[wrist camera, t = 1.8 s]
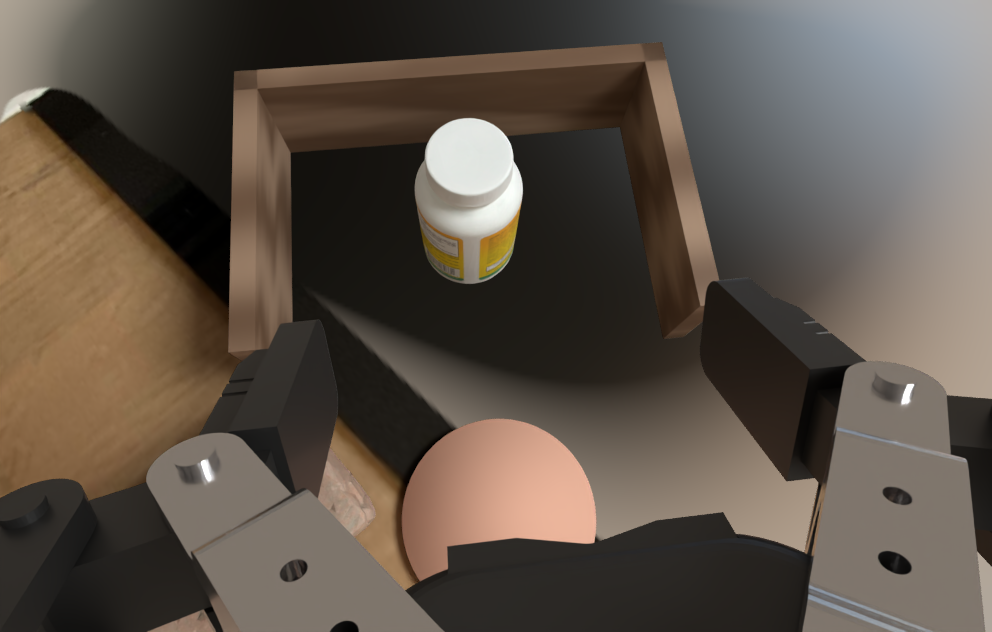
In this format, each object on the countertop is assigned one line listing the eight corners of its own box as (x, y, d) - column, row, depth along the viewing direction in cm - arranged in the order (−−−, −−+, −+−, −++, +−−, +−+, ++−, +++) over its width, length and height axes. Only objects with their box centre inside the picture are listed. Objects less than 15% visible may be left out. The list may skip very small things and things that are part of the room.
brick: (104, 761, 28) (33, 811, 23) (15, 612, 29) (-67, 630, 25) (388, 514, 32) (374, 516, 27) (295, 395, 33) (267, 377, 29)
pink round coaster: (362, 532, 31) (360, 532, 30) (484, 383, 33) (484, 381, 33) (515, 668, 29) (516, 671, 29) (631, 500, 32) (633, 500, 31)
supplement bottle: (425, 288, 35) (407, 210, 26) (423, 205, 37) (406, 105, 27) (517, 284, 35) (532, 207, 26) (511, 203, 37) (523, 103, 28)
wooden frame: (270, 137, 38) (234, 71, 32) (634, 109, 39) (662, 42, 33) (270, 379, 33) (228, 352, 27) (683, 336, 35) (724, 303, 29)
